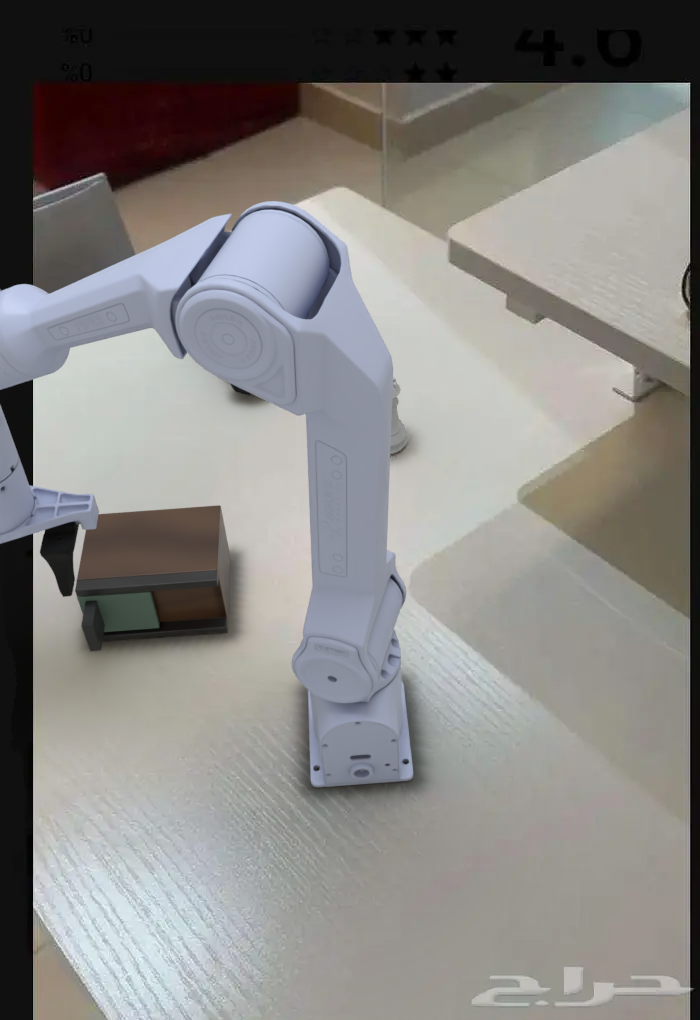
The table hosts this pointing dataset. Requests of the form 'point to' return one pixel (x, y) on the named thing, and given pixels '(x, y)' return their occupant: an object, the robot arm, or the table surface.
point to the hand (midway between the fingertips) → (28, 590)
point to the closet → (162, 567)
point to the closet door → (116, 615)
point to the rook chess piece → (396, 423)
